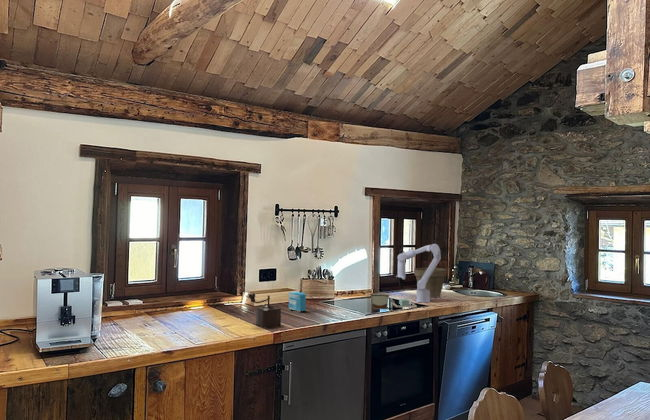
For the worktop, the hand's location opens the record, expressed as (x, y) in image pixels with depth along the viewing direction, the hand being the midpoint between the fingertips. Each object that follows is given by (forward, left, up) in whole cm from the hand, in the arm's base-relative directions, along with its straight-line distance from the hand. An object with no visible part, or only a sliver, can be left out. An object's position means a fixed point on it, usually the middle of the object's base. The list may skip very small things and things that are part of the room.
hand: (401, 288), depth 350 cm
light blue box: (+78, +39, -10) cm, 88 cm away
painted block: (+3, +18, -10) cm, 21 cm away
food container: (+22, +30, -10) cm, 38 cm away
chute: (+3, +14, -9) cm, 17 cm away
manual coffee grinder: (+97, +82, -10) cm, 127 cm away
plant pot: (-28, -21, -10) cm, 36 cm away
